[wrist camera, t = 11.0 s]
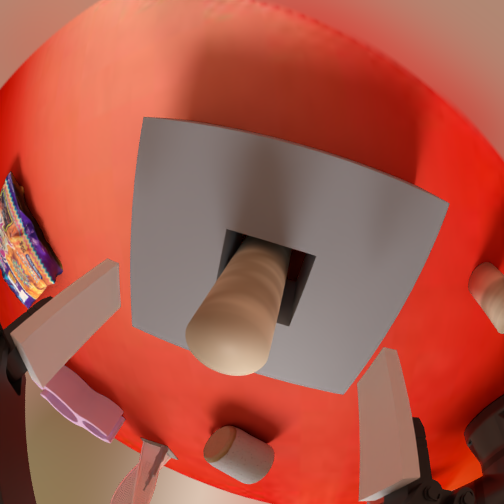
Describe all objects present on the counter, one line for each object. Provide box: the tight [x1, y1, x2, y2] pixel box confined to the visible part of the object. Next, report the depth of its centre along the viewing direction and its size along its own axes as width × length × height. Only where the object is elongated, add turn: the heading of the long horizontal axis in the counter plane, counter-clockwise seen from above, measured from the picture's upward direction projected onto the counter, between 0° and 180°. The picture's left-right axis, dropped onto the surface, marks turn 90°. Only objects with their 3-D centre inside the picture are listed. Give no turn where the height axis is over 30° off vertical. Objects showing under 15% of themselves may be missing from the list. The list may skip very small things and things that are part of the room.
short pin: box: [468, 262, 504, 334], centre depth 16 cm, size 4×4×6 cm
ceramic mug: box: [204, 426, 274, 484], centre depth 32 cm, size 11×8×8 cm
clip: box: [33, 365, 125, 443], centre depth 40 cm, size 20×12×7 cm, turn 75°
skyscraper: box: [110, 438, 178, 504], centre depth 34 cm, size 8×8×28 cm
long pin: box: [185, 235, 292, 376], centre depth 16 cm, size 4×4×12 cm
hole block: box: [130, 117, 449, 394], centre depth 19 cm, size 18×16×6 cm
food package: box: [0, 171, 63, 309], centre depth 30 cm, size 22×25×4 cm
